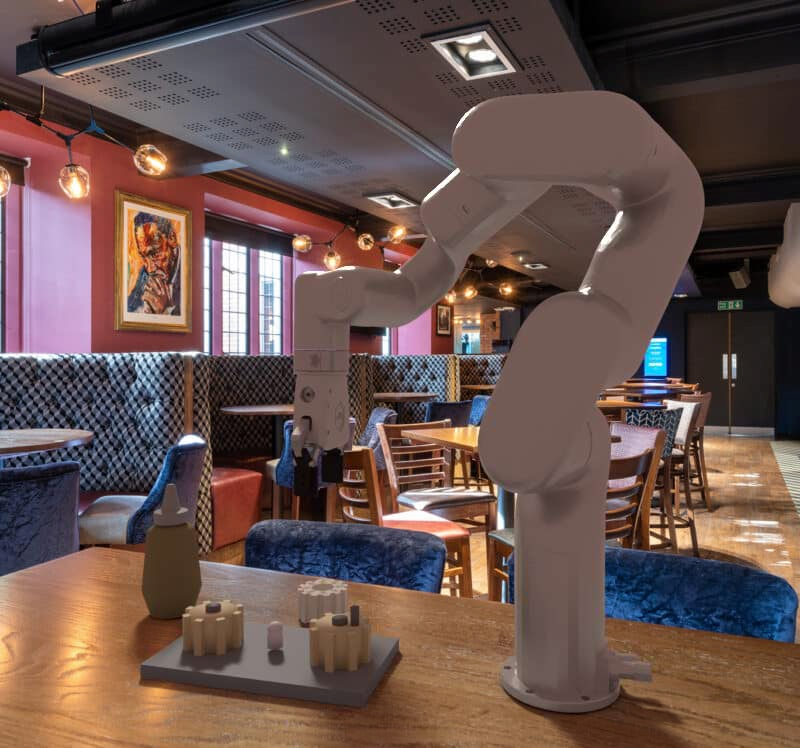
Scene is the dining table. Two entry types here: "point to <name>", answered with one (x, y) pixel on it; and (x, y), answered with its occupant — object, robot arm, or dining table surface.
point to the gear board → (276, 655)
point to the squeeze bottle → (171, 560)
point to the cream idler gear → (321, 599)
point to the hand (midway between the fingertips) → (319, 489)
